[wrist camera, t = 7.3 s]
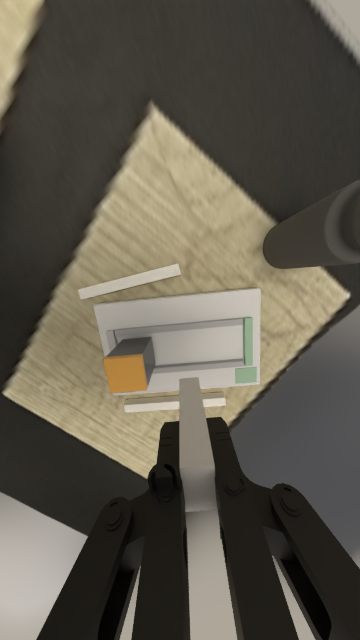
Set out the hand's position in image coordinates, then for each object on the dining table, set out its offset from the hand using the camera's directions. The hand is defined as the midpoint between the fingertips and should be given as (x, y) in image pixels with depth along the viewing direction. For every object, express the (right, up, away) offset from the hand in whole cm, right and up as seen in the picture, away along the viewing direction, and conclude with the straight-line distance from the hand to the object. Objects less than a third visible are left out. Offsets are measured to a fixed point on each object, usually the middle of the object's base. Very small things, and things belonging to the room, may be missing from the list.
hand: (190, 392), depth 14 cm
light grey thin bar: (-8, +11, +11) cm, 17 cm away
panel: (-1, +3, +13) cm, 13 cm away
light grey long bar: (-2, -7, +15) cm, 17 cm away
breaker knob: (-7, +1, +10) cm, 12 cm away
